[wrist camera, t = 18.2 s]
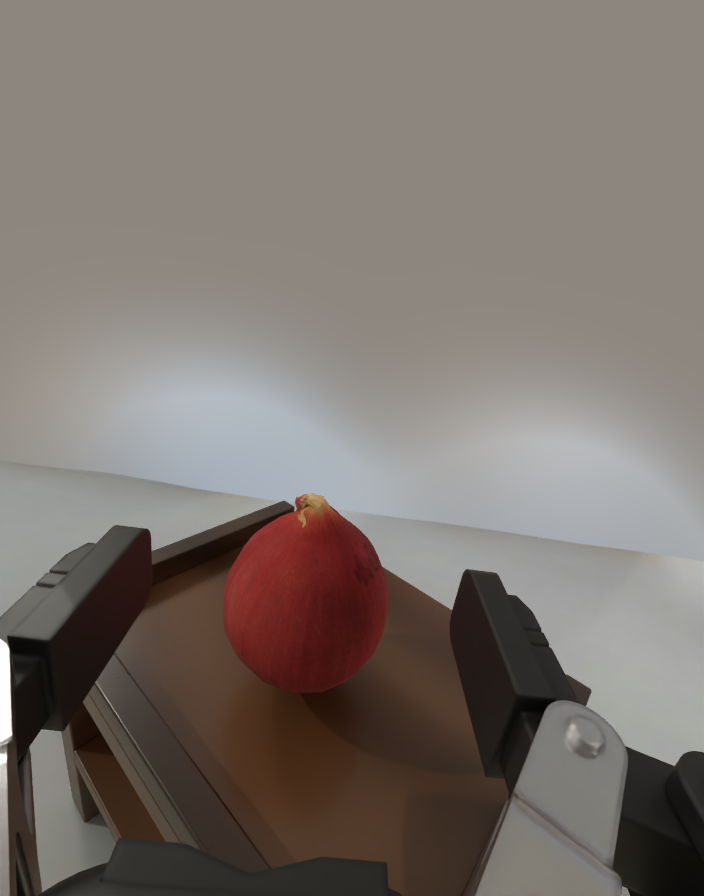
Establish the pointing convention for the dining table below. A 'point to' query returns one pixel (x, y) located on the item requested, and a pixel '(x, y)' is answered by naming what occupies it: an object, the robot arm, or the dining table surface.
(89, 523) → the dining table surface
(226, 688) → the shelf stand
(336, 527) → the onion
